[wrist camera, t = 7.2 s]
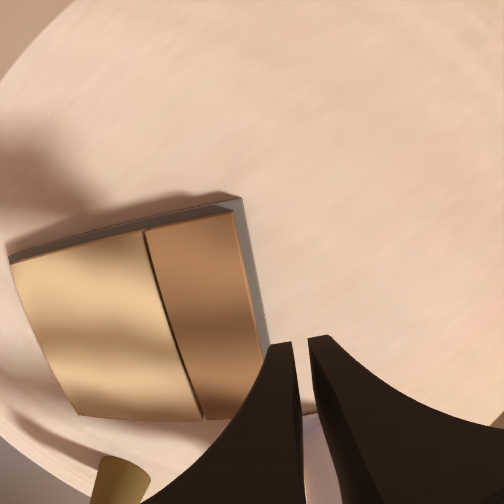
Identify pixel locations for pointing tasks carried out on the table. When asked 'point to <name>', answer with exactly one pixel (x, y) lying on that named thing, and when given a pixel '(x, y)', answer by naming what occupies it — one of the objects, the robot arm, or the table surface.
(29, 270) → the oak plank
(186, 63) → the table surface
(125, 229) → the rubber mat
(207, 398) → the brown curved block
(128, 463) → the olive pawn
